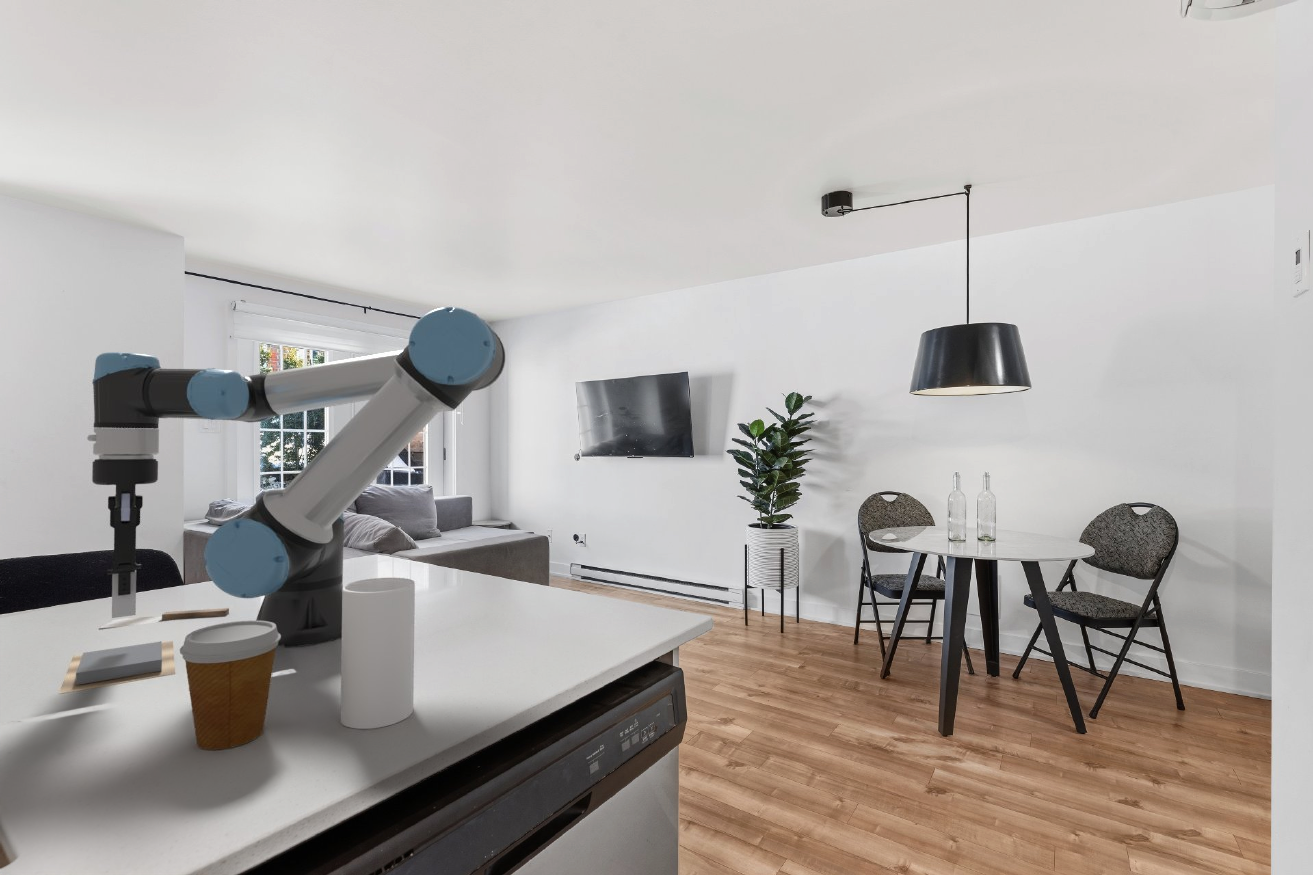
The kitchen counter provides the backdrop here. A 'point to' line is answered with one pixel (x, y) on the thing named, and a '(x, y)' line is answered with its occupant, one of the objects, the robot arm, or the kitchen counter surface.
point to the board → (167, 669)
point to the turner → (166, 617)
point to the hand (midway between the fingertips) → (123, 615)
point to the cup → (377, 652)
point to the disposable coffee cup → (229, 680)
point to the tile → (119, 662)
